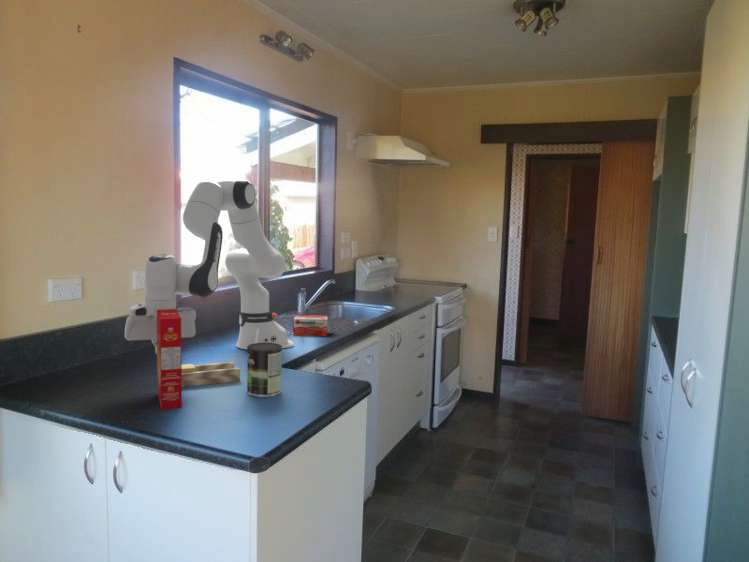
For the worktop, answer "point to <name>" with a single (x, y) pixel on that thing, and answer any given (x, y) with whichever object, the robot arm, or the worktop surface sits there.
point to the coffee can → (264, 369)
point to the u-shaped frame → (211, 374)
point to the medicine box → (310, 325)
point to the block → (188, 368)
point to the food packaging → (169, 359)
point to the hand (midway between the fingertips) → (160, 352)
